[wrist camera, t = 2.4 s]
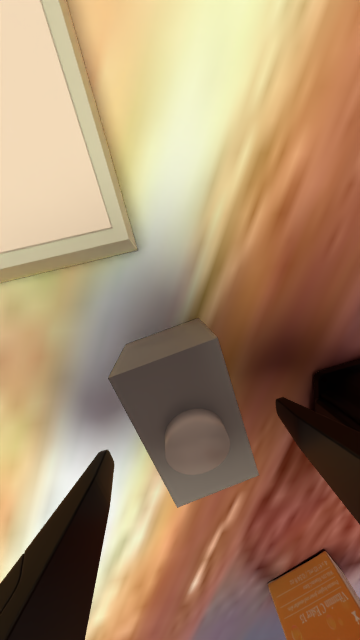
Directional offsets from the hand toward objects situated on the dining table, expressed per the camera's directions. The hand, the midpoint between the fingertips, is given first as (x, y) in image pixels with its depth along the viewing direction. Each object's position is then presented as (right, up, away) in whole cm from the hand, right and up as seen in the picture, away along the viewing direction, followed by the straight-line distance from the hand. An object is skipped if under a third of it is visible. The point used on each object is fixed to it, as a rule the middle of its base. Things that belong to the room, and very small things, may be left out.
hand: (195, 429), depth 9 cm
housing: (-1, +1, +4) cm, 4 cm away
